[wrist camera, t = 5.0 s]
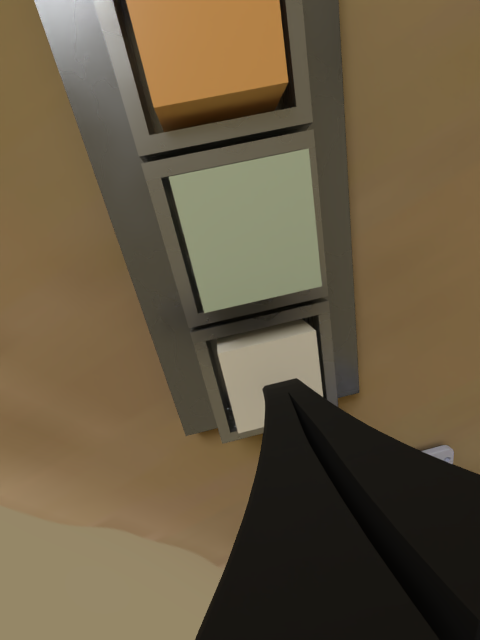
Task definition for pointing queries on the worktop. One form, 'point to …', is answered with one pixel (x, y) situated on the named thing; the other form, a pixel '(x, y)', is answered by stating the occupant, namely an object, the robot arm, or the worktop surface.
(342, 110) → the panel
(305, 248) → the button sage
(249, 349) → the button cream
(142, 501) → the worktop surface
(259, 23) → the button orange
